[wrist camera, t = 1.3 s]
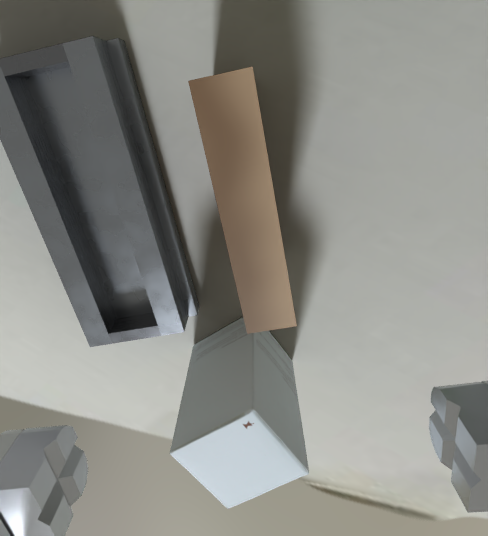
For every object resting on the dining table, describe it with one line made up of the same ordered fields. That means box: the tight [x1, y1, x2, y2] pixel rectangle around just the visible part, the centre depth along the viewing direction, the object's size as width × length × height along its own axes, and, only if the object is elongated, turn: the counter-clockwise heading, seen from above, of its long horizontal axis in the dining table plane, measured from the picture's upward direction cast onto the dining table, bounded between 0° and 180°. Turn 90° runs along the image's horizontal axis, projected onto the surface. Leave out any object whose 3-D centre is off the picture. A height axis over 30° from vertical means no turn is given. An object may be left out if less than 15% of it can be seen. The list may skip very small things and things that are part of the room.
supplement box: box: [170, 317, 309, 509], centre depth 33 cm, size 7×7×13 cm
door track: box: [0, 36, 199, 347], centre depth 31 cm, size 10×22×4 cm, turn 11°
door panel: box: [188, 67, 297, 334], centre depth 26 cm, size 3×14×12 cm, turn 11°
